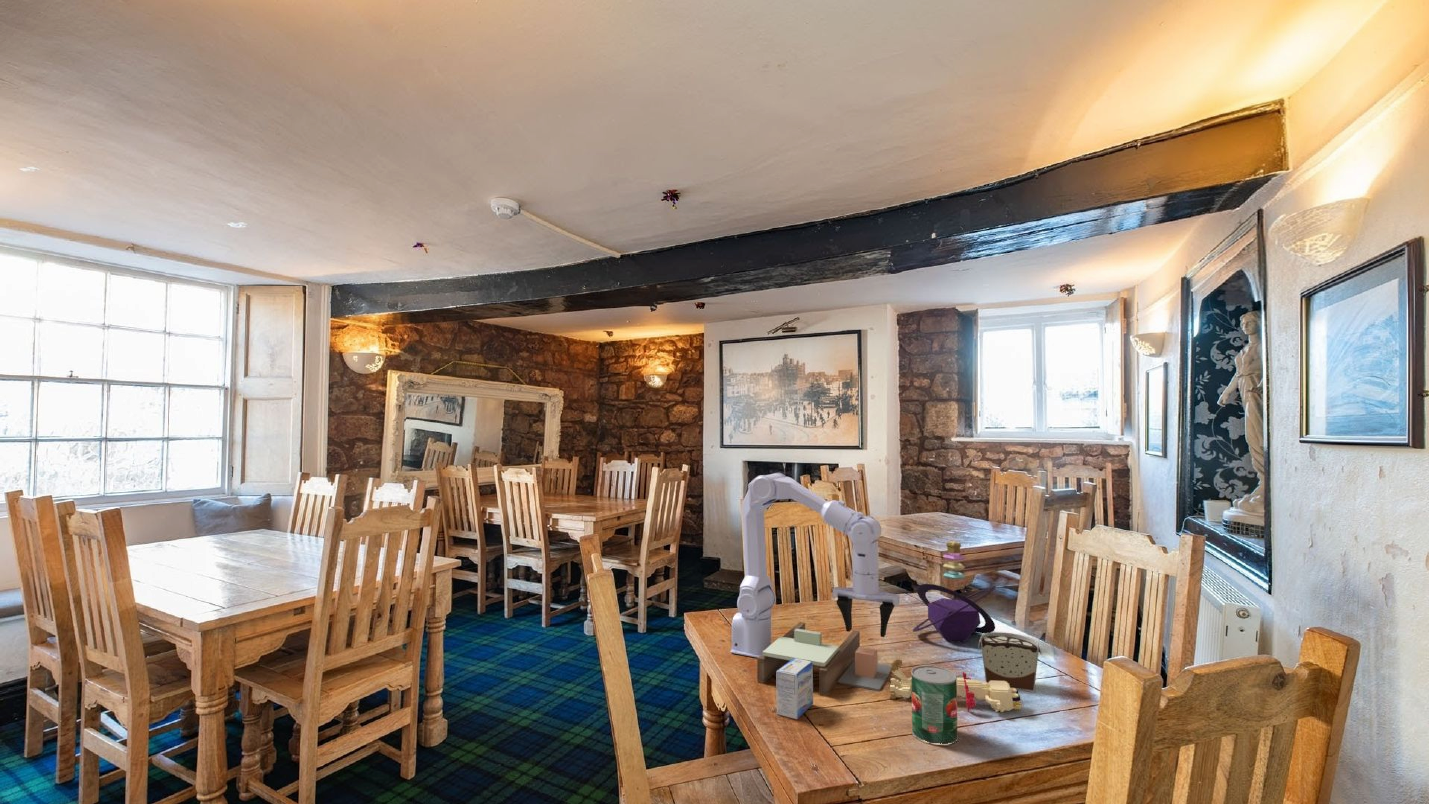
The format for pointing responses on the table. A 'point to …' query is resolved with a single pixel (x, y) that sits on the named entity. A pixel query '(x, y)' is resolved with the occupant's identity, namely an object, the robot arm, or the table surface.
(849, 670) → the mat
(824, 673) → the brown wooden frame
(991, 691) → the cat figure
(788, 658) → the cover
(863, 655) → the block
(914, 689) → the canned tomato
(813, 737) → the table surface
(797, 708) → the medicine box
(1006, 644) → the food container
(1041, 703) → the table surface
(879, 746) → the table surface
